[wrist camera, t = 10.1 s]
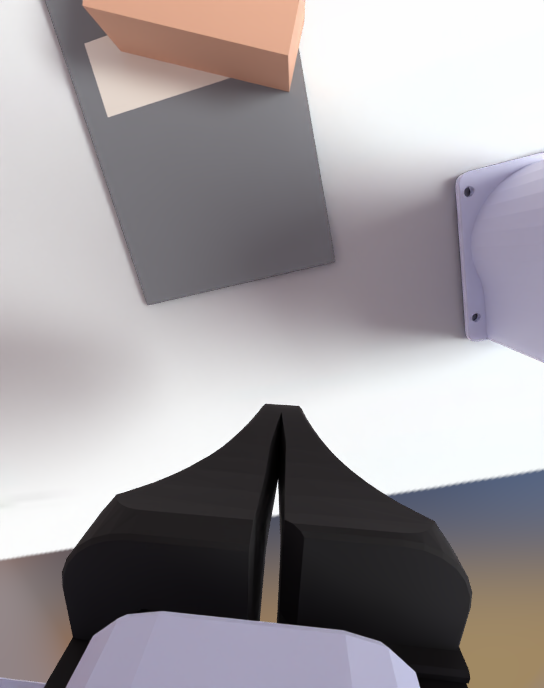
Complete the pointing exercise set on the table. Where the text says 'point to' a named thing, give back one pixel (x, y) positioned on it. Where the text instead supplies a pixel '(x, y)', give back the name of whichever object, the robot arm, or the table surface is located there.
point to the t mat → (198, 165)
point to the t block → (209, 34)
